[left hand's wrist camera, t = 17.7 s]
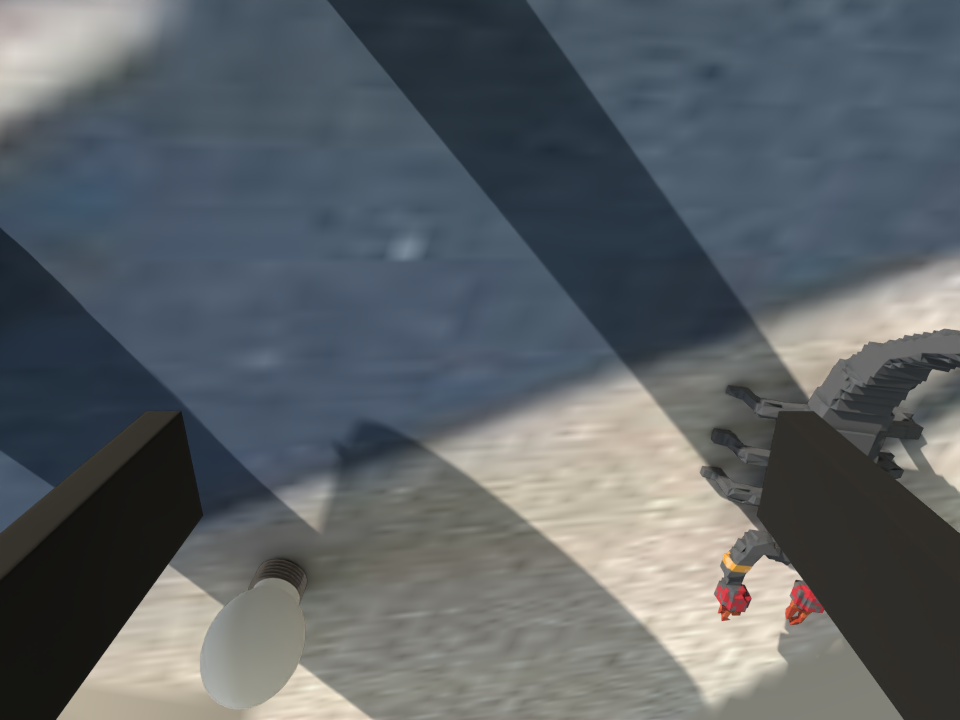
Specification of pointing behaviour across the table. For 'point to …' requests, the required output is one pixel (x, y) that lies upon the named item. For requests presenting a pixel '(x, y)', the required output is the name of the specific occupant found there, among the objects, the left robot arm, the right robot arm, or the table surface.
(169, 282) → the table surface
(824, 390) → the toy
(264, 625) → the light bulb
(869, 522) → the left robot arm
